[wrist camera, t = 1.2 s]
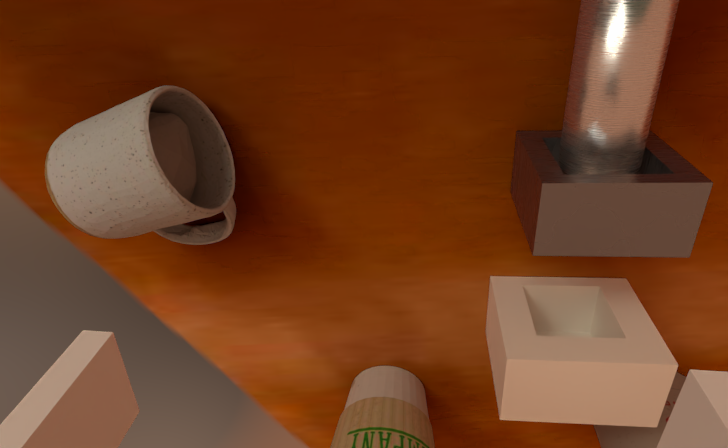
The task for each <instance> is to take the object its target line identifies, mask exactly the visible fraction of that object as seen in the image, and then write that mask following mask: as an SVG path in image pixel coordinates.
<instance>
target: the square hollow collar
mask: <svg viewBox="0 0 728 448" xmlns="http://www.w3.org/2000/svg"><path fill="white" fill-rule="evenodd" d="M561 135H562V130H554V131H517V132H516V142H515V152H514V162H513V172H512V182H511V195H512V198H513V201H514V203H515V206H516V209H517V212H518V215H519V218H520V221H521V223H522V226H523V229H524V232H525V235H526V238H527V241H528V243H529V246H530V249H531V252H532V255H533V256H605V257H690V254H691V251H692V248H693V245H694V242H695V239H696V235H697V232H698V229H699V226H700V223H701V220H702V216H703V213H704V210H705V207H706V204H707V201H708V197H709V194H710V191H711V188H712V185H713V182H712V181H711V180H709V179H708V178H707V177H706V176H705V175H703V174H702V173H701V172H700V171H699V170H697V169H696V168H695V167H694V166H693V165H691V164H690V163H689V162H688V161H687V160H685V159H684V158H683V157H682V156H681V155H679V154H678V153H677V152H676V151H675V150H673V149H672V148H671V147H670V146H669V145H667V144H666V143H665V142H664V141H662V140H661V139H660V138H659V137H658V136H656V135H655V134H654V133H653V132H652V131H650V130H649V133H648V137H647V141H646V146H645V150H644V154H643V158H642V163H641V167H640V171H639V174H571V175H564V174H563V172H562V170H561V169H560V167H559V165H558V164H557V162H558V155H559V148H560V141H561Z"/></svg>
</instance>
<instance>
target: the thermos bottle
mask: <svg viewBox="0 0 728 448" xmlns="http://www.w3.org/2000/svg"><path fill="white" fill-rule="evenodd" d="M685 380H686V377H685V376H683V375H681V374H679V373H677V372H676V374H675V377H674V380H673V382H672V385H671V388H670V391H669V394H668V397H667V400H666V403H665V406H664V408H663V411H662V414H661V417H660V420H659V423H658V426H657V427H636V426H615V425H594V424H593V425H594V428H595V431H596V434H597V437H598V439H599V442H600V445H601V448H657V446H658V443H659V441H660V439H661V436H662V434H663V431H664V429H665V427H666V424H667V422H668V420H669V417H670V415H671V413H672V410H673V408H674V406H675V403H676V401H677V398H678V396H679V394H680V391H681V389H682V387H683V384H684V382H685Z"/></svg>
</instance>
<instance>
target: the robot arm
mask: <svg viewBox="0 0 728 448" xmlns="http://www.w3.org/2000/svg"><path fill="white" fill-rule="evenodd" d="M138 413H139V408H138V405H137V402H136V399H135V396H134V393H133V390H132V387H131V384H130V381H129V378H128V375H127V372H126V369H125V366H124V363H123V360H122V357H121V354H120V351H119V348H118V345H117V342H116V339H115V337H114V334H113V332H102V331H85V330H83V331H82V332H81V333H80V334H79V336H78V337H77V338H76V339H75V340H74V341H73V342H72V344H71V345H70V346H69V347H68V348H67V349H66V350H65V352H64V353H63V354H62V355H61V356H60V357H59V358H58V359H57V361H56V362H55V363H54V364H53V365H52V367H50V369H49V370H48V371H47V372H46V373H45V374H44V375H43V377H42V378H41V379H40V380H39V381H38V383H36V385H35V386H34V387H33V388H32V389H31V390H30V391H29V393H28V394H27V395H26V396H25V397H24V398H23V399H22V401H21V402H20V403H19V404H18V405H17V406H16V407H15V409H14V410H13V411H12V412H11V413H10V414H9V415H8V417H7V418H6V419H5V420H4V421H3V422H2V423H1V425H0V448H118V446H119V444H120V443H121V441H122V439H123V438H124V436H125V434H126V433H127V431H128V430H129V428H130V426H131V425H132V423H133V421H134V419H135V418H136V416H137V415H138ZM657 448H728V372H723V371H707V370H692V369H690V370H689V373H688V375H687V377H686V380H685V382H684V384H683V387H682V389H681V391H680V394H679V396H678V398H677V401H676V403H675V406H674V408H673V410H672V413H671V415H670V417H669V420H668V422H667V424H666V427H665V429H664V431H663V434H662V436H661V439H660V441H659V443H658V446H657Z"/></svg>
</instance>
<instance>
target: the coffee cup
mask: <svg viewBox="0 0 728 448" xmlns="http://www.w3.org/2000/svg"><path fill="white" fill-rule="evenodd" d="M330 448H435V444H434V437H433V431H432V426H431V423H430V421H429V416H428V409H427V402H426V395H425V389H424V387H423V384H422V383H421V381H420V380H419V379H418V378H417V377H416V376H415V375H414V374H412V373H410V372H409V371H407V370H404V369H402V368H398V367H394V366H376V367H372V368H369V369H366V370H364V371H363V372H361V373H360V374H359V375H358V376H356V378H355V379H354V381H353V383H352V386H351V389H350V393H349V396H348V399H347V402H346V406H345V409H344V411H343V413H342V414H341V416H340V419H339V422H338V425H337V428H336V431H335V434H334V437H333V441H332V444H331V447H330Z"/></svg>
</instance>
